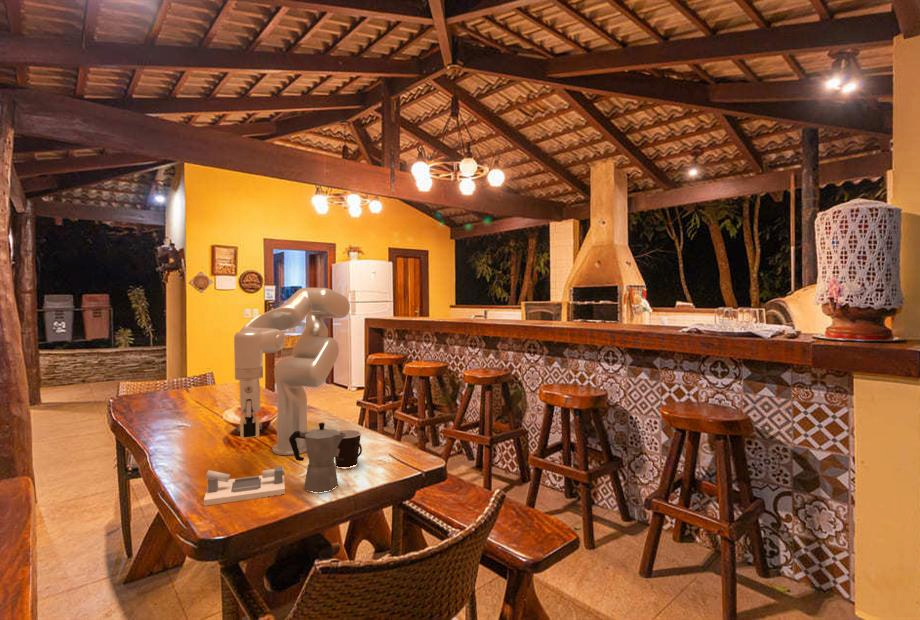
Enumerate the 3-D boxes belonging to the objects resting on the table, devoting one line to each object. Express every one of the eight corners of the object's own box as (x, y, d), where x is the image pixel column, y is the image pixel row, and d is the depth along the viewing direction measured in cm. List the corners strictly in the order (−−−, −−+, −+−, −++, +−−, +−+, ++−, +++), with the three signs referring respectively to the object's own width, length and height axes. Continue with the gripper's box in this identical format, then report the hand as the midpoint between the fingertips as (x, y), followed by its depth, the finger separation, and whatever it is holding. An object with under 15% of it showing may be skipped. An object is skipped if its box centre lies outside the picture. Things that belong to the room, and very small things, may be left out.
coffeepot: (348, 480, 133) (349, 418, 132) (341, 494, 123) (342, 427, 123) (294, 480, 132) (294, 418, 131) (283, 494, 123) (283, 427, 122)
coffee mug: (331, 462, 146) (331, 431, 146) (358, 459, 150) (358, 428, 149) (334, 475, 136) (334, 442, 135) (364, 472, 139) (364, 439, 138)
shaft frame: (283, 477, 134) (283, 454, 133) (284, 494, 123) (285, 469, 122) (208, 487, 126) (208, 462, 126) (202, 506, 115) (202, 479, 115)
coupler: (262, 431, 140) (261, 415, 140) (262, 436, 136) (261, 419, 136) (238, 434, 138) (237, 417, 137) (237, 439, 133) (237, 422, 133)
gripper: (262, 377, 129) (263, 441, 130) (263, 367, 145) (264, 424, 146) (232, 379, 126) (234, 444, 127) (236, 368, 142) (237, 426, 143)
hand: (250, 433), depth 137 cm, fingers closed on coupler, 4 cm apart
